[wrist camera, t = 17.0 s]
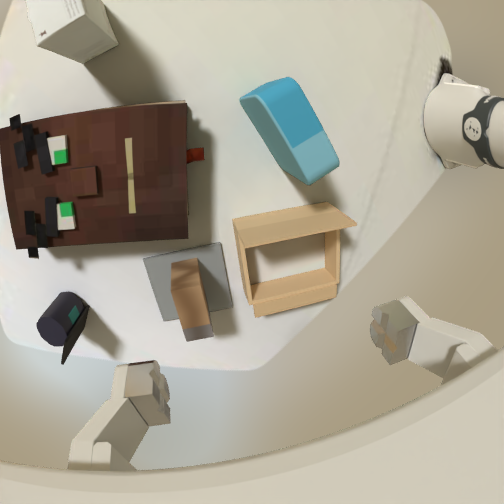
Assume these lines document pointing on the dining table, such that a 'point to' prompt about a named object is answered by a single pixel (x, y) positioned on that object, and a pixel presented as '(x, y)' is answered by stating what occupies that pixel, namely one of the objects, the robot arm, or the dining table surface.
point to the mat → (210, 274)
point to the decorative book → (98, 176)
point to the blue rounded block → (291, 129)
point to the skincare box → (71, 27)
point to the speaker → (63, 322)
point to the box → (190, 299)
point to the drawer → (284, 228)
